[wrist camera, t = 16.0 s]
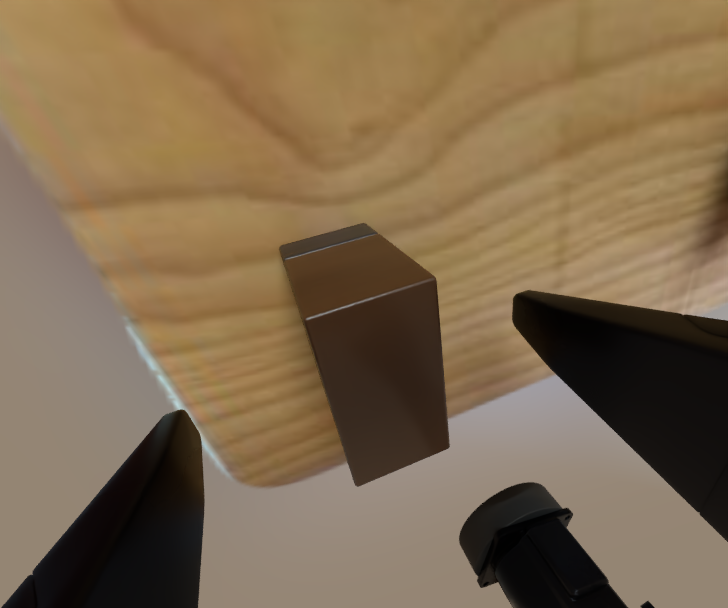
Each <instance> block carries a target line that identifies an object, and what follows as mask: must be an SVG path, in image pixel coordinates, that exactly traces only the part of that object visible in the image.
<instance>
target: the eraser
mask: <svg viewBox="0 0 728 608" xmlns="http://www.w3.org/2000/svg"><path fill="white" fill-rule="evenodd" d="M279 250H280V253H281V256H282V259H283V262H284V265H285V269H286V272H287V275H288V278H289V281H290V284H291V287H292V291H293V294H294V297H295V300H296V303H297V306H298V309H299V313H300V316H301V319H302V322H303V325H304V328H305V331H306V335H307V338H308V341H309V344H310V347H311V350H312V353H313V357H314V360H315V363H316V366H317V369H318V372H319V375H320V379H321V382H322V385H323V388H324V391H325V394H326V397H327V400H328V403H329V406H330V409H331V412H332V415H333V419H334V422H335V425H336V428H337V431H338V434H339V437H340V440H341V443H342V446H343V449H344V452H345V456H346V459H347V462H348V465H349V468H350V471H351V474H352V477H353V480H354V483H355V485H356V486H361V485H363V484H366V483H368V482H370V481H373V480H375V479H377V478H380V477H382V476H385V475H387V474H389V473H392V472H394V471H396V470H399V469H401V468H403V467H406V466H408V465H411V464H413V463H415V462H418V461H420V460H422V459H425V458H427V457H430V456H432V455H434V454H436V453H439V452H441V451H443V450H446V449H448V448H449V447H450V446H449V432H448V420H447V407H446V394H445V382H444V369H443V357H442V344H441V332H440V319H439V306H438V294H437V281H436V278H435V276H433V275H432V274H431V273H429V272H428V271H427V270H426V269H424V268H423V267H422V266H420V265H419V264H418V263H416V262H415V261H414V260H413V259H411V258H410V257H409V256H407V255H406V254H405V253H403V252H402V251H401V250H399V249H398V248H397V247H396V246H394V245H393V244H392V243H390V242H389V241H388V240H386V239H385V238H384V237H383V236H381V235H380V234H378V233H377V232H376V231H375V230H373V229H372V228H371V227H369V226H368V225H367V224H365V223H362V224H358V225H354V226H351V227H347V228H343V229H340V230H336V231H333V232H329V233H325V234H322V235H318V236H314V237H311V238H307V239H303V240H300V241H296V242H292V243H289V244H285V245H282V246H280V248H279Z"/></svg>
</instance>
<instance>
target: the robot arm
mask: <svg viewBox="0 0 728 608" xmlns="http://www.w3.org/2000/svg"><path fill="white" fill-rule="evenodd" d="M512 320H513V324H514V326H515V327H516V329H517V330H518V331H519V332H520V333H521V335H522V336H523V337H524V338H525V339H526V341H527V342H528V343H529V344H530V345H531V347H532V348H533V349H534V350H535V351H536V353H537V354H538V355H539V356H540V357H541V359H542V360H543V361H544V362H545V363H546V364H547V365H548V366H549V367H550V369H551V370H552V371H553V372H554V373H555V374H556V375H557V376H559V377H560V378H561V379H562V380H563V381H564V382H565V383H566V384H567V385H568V386H569V387H570V388H571V389H572V390H573V391H574V392H575V393H576V394H577V395H578V396H579V397H580V398H581V399H582V400H583V401H584V402H585V403H586V404H587V405H588V406H589V407H590V408H591V409H592V410H593V411H594V412H596V413H597V414H598V416H600V417H601V418H602V419H603V420H604V421H605V422H606V423H607V424H608V425H609V426H610V427H611V428H612V429H613V430H614V431H615V432H616V433H617V434H618V435H619V436H620V437H621V438H622V439H623V440H624V441H625V442H626V443H627V444H628V445H629V446H630V447H631V448H632V449H633V450H634V451H636V453H638V454H639V455H640V456H641V457H642V458H643V459H644V460H645V461H646V462H647V463H648V464H649V465H650V466H651V467H652V468H653V469H654V470H655V471H656V472H657V473H658V474H659V475H660V476H661V477H662V478H663V479H664V480H665V481H666V482H667V483H668V484H669V485H670V486H671V487H672V488H673V489H674V490H675V491H676V492H677V493H679V494H680V495H681V496H682V497H683V498H684V499H685V500H686V501H687V502H688V503H689V504H690V505H691V506H692V507H693V508H694V509H695V510H696V511H697V512H700V515H701V516H702V517H703V518H704V519H705V520H706V521H707V522H708V523H709V524H710V525H711V526H712V527H713V528H714V529H715V530H716V531H717V532H718V533H719V534H720V535H721V536H722V537H723V538H725V540H726V541H727V542H728V321H726V320H719V319H712V318H705V317H699V316H692V315H682V314H679V313H673V312H666V311H660V310H653V309H647V308H641V307H634V306H628V305H621V304H615V303H608V302H602V301H596V300H589V299H583V298H576V297H570V296H564V295H557V294H551V293H544V292H538V291H531V290H527V291H524V292H521V293H518V294H516V295H515V296H514V298H513V312H512ZM572 516H573V513H572V512H571V510H570V509H569V508H564V509H560V510H557V511H554V512H551V513H548V514H545V515H542V516H539V517H536V518H532V519H529V520H526V521H523V522H520V523H517V524H514V525H511V526H508V527H505V528H502V529H500V530H498V531H497V532H496V533H495V535H494V537H493V540H492V543H491V545H490V548H489V550H488V553H487V555H486V558H485V561H484V563H483V566H482V568H481V571H480V573H479V576H478V579H477V582H478V584H479V586H480V588H484V587H487V586H489V585H492V584H495V583H497V582H498V583H499V584H500V586H501V588H502V590H503V591H504V593H505V595H506V597H507V598H508V600H509V602H510V604H511V605H512V607H513V608H628V607H627V606H626V605H625V603H624V602H623V601H622V600H621V598H620V597H619V596H618V595H617V593H616V592H615V591H614V590H613V589H612V587H611V586H610V585H609V584H608V583H609V582H608V579H607V577H606V576H605V575H604V573H603V572H602V571H601V570H600V568H599V567H598V566H597V565H596V564H595V562H594V561H593V560H592V559H591V557H590V556H589V555H588V554H587V553H586V551H585V550H584V549H583V548H582V546H581V545H580V544H579V543H578V542H577V540H576V539H575V538H574V537H573V536H572V534H571V533H570V532H569V531H568V529H567V526H568V524H569V522H570V520H571V518H572ZM203 520H204V482H203V463H202V443H201V437H200V434H199V432H198V430H197V428H196V427H195V425H194V423H193V422H192V420H191V418H190V417H189V415H188V414H187V412H186V411H185V410H177V411H175V412H172V413H169V414H166V415H165V416H163V417H162V419H161V420H160V421H159V422H158V423H157V424H156V426H155V427H154V428H153V429H152V430H151V431H150V433H149V434H148V435H147V436H146V437H145V439H144V440H143V441H142V442H141V443H140V444H139V446H138V447H137V448H136V449H135V450H134V452H133V453H132V454H131V455H130V456H129V458H128V459H127V460H126V461H125V462H124V463H123V465H122V466H121V467H120V468H119V469H118V470H117V472H116V473H115V474H114V475H113V476H112V478H111V479H110V480H109V481H108V483H107V484H106V485H105V486H104V487H103V488H102V489H101V491H100V492H99V493H98V494H97V496H96V497H95V498H94V499H93V500H92V501H91V503H90V504H89V505H88V506H87V507H86V508H85V510H84V511H83V512H82V513H81V514H80V516H79V517H78V518H77V519H76V520H75V521H74V523H73V524H72V525H71V526H70V527H69V529H68V530H67V531H66V532H65V533H64V534H63V536H62V537H61V538H60V539H59V540H58V542H57V543H56V544H55V545H54V546H53V547H52V549H51V550H50V551H49V552H48V554H47V555H46V556H45V557H44V558H43V559H42V560H41V562H40V563H39V564H38V565H37V566H36V568H35V569H34V571H33V575H29V576H28V577H27V578H26V579H25V580H24V582H23V583H22V584H21V585H20V586H19V588H18V589H17V590H16V591H15V592H14V593H13V595H12V596H11V597H10V598H9V600H8V601H7V602H6V603H5V604H4V605H3V606H2V608H198V598H199V582H200V566H201V552H202V537H203V536H202V535H203ZM641 608H654V607H653V606H652V604H651V603H650V602H649V601H647V602H645V603H644V604H643V605H641Z"/></svg>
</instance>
